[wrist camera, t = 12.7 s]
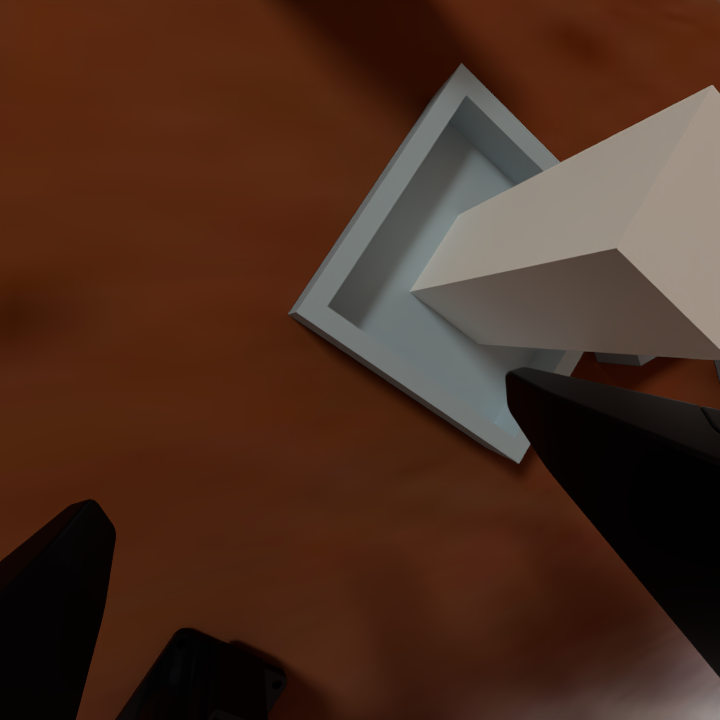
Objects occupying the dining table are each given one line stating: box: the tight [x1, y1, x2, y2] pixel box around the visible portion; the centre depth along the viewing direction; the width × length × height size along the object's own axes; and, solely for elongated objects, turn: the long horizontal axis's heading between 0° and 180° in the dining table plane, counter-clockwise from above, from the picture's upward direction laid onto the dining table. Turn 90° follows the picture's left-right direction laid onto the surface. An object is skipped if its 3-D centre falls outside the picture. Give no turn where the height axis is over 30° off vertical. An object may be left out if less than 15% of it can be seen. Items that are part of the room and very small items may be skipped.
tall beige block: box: [410, 85, 720, 360], centre depth 17 cm, size 6×5×12 cm
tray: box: [288, 63, 584, 464], centre depth 22 cm, size 14×14×3 cm
